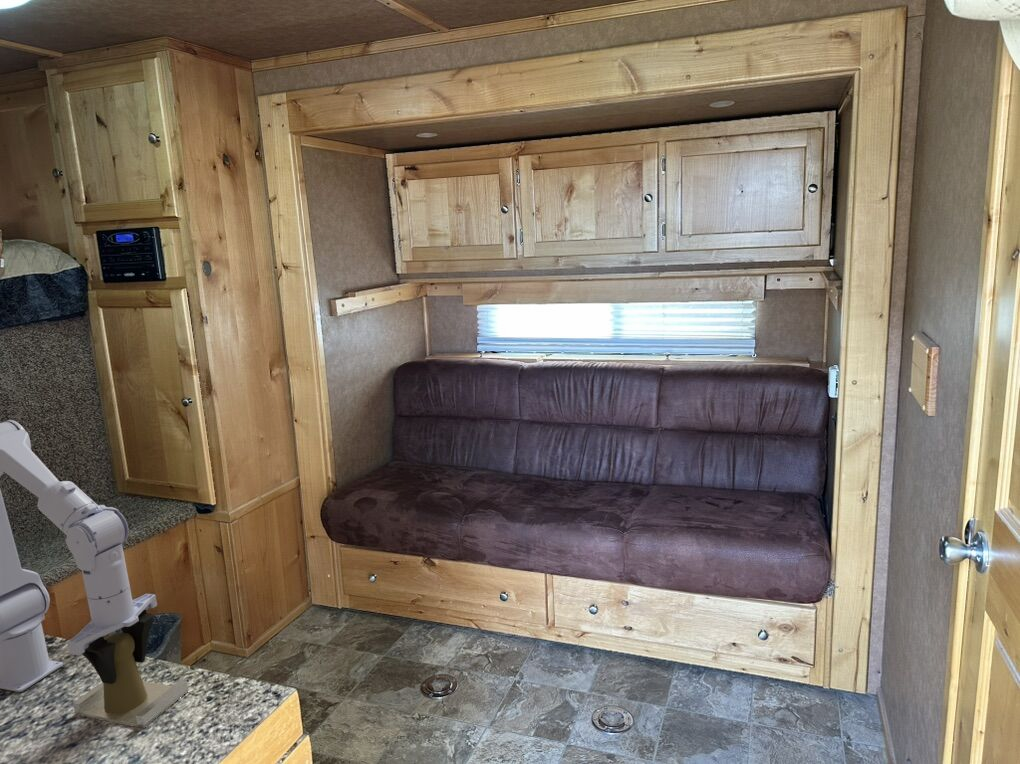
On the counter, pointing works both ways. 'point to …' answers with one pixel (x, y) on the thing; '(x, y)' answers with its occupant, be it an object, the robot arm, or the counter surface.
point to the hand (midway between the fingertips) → (124, 671)
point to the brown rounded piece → (124, 677)
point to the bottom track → (140, 716)
